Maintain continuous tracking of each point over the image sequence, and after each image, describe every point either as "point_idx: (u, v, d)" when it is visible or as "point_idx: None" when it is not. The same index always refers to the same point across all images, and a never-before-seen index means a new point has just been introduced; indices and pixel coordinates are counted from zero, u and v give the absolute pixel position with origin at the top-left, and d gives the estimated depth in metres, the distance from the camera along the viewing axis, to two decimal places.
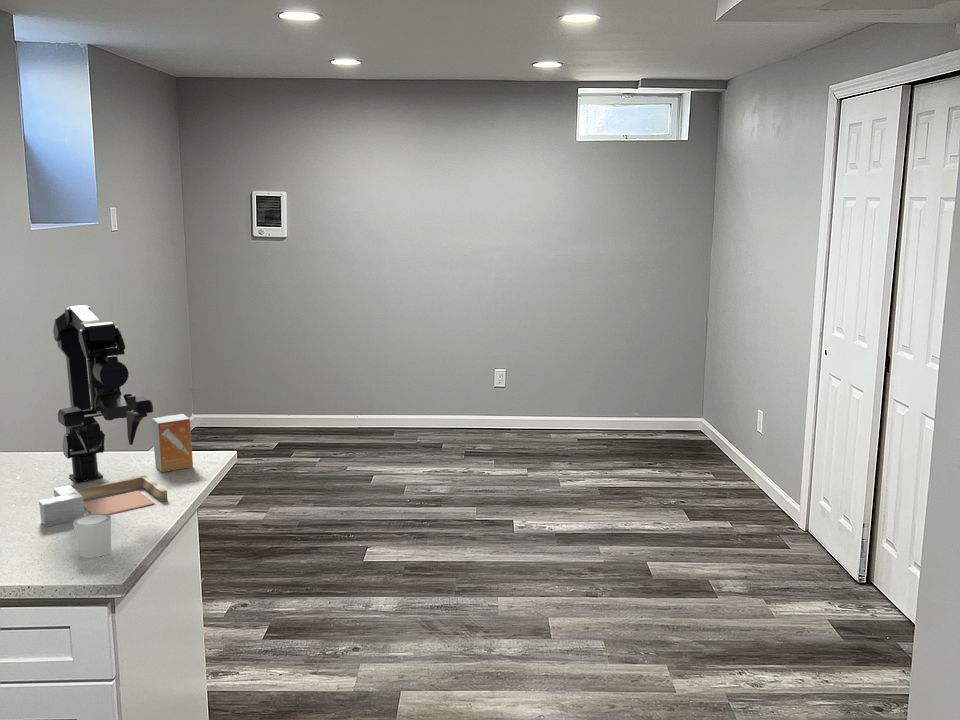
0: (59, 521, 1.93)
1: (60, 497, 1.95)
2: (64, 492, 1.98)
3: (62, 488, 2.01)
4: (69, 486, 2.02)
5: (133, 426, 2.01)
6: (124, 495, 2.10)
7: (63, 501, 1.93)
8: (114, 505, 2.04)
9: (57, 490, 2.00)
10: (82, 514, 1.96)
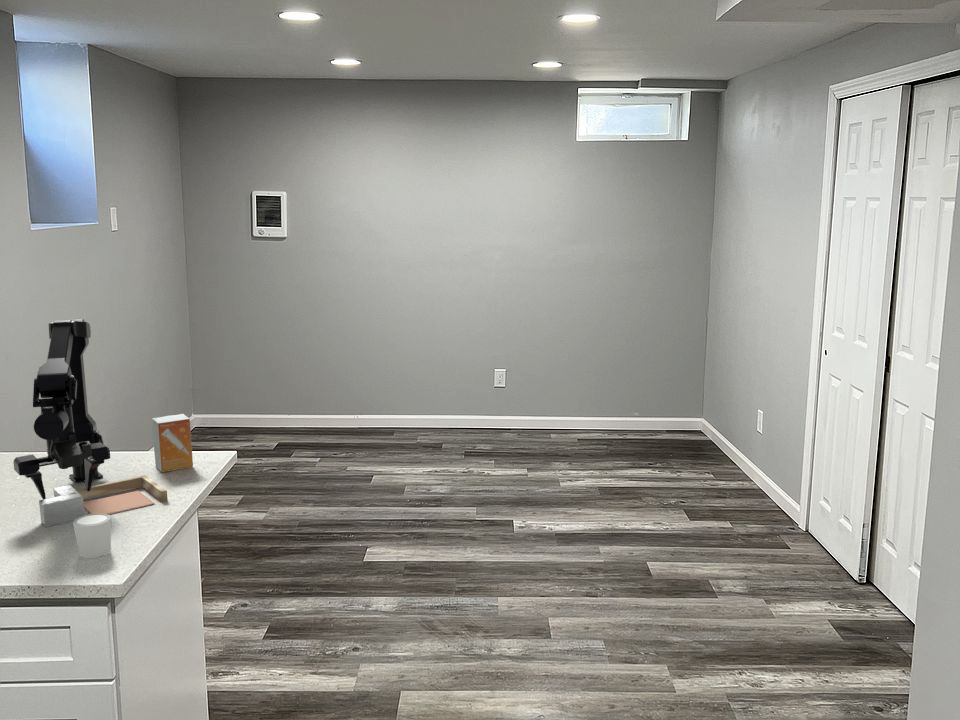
0: (59, 521, 1.93)
1: (60, 497, 1.95)
2: (64, 492, 1.98)
3: (62, 488, 2.01)
4: (69, 486, 2.02)
5: (90, 473, 2.01)
6: (124, 495, 2.10)
7: (63, 501, 1.93)
8: (114, 505, 2.04)
9: (57, 490, 2.00)
10: (82, 514, 1.96)
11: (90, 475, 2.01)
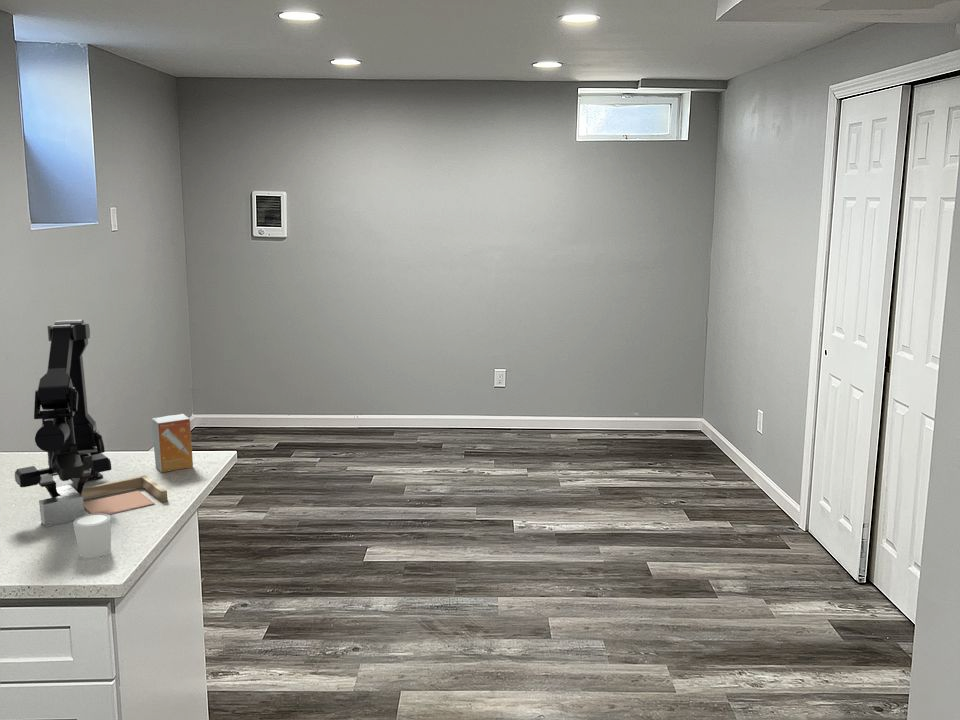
0: (59, 521, 1.93)
1: (60, 497, 1.95)
2: (64, 492, 1.98)
3: (62, 488, 2.01)
4: (69, 486, 2.02)
5: (78, 486, 2.00)
6: (124, 495, 2.10)
7: (63, 501, 1.93)
8: (114, 505, 2.04)
9: (57, 490, 2.00)
10: (82, 514, 1.96)
11: (78, 489, 2.00)
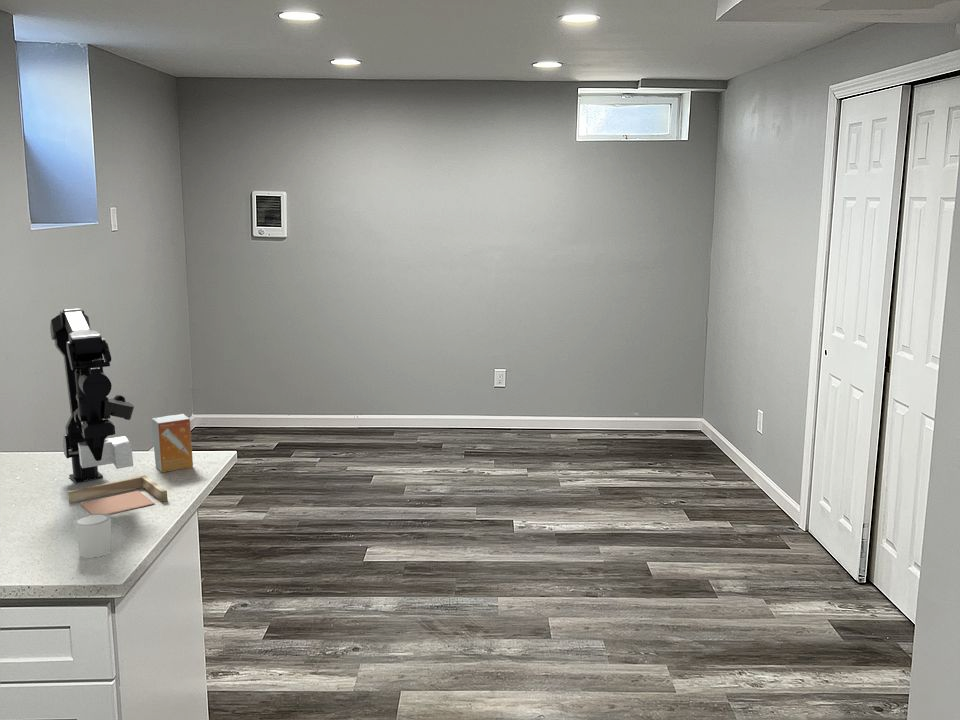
0: None
1: (115, 442, 2.02)
2: None
3: (86, 443, 2.01)
4: (83, 442, 2.02)
5: None
6: (124, 495, 2.10)
7: (128, 441, 2.03)
8: (114, 505, 2.04)
9: None
10: None
11: None
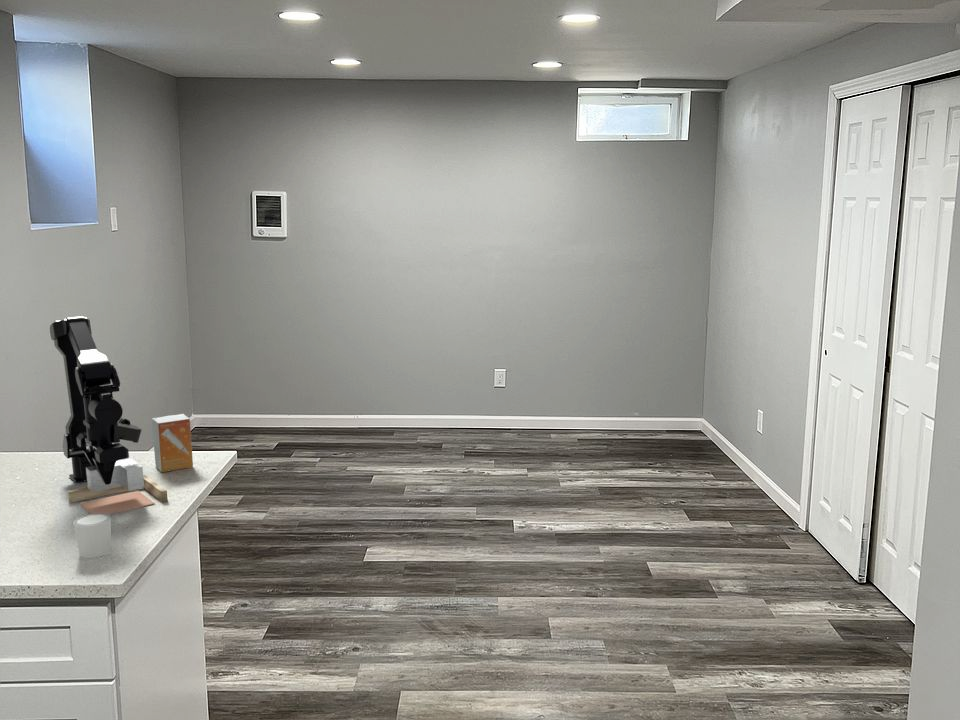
0: None
1: (124, 465, 2.05)
2: None
3: (95, 468, 2.03)
4: (91, 466, 2.04)
5: None
6: (124, 495, 2.10)
7: None
8: (114, 505, 2.04)
9: None
10: None
11: None
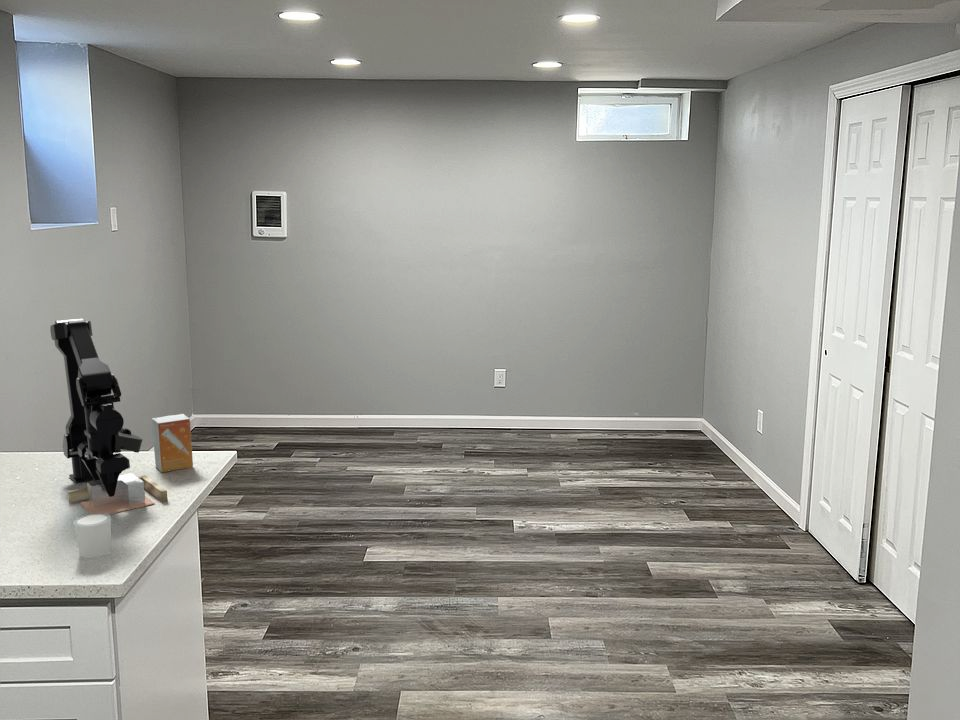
0: None
1: (125, 479, 2.05)
2: None
3: (96, 483, 2.03)
4: (92, 481, 2.04)
5: None
6: None
7: (137, 478, 2.07)
8: (114, 505, 2.04)
9: (101, 483, 2.03)
10: None
11: None
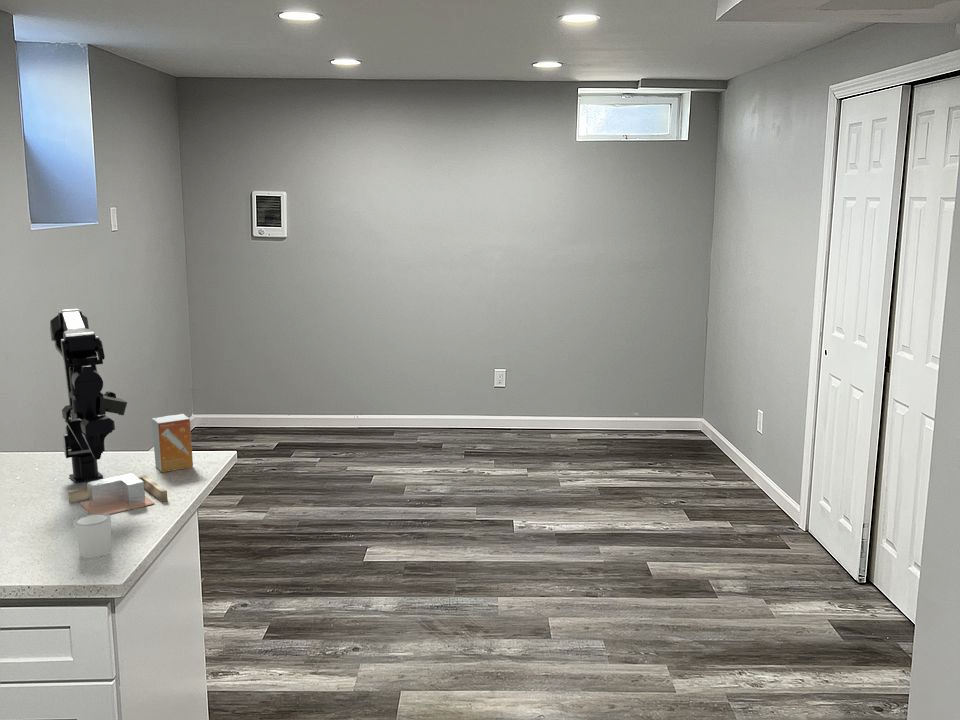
0: None
1: (125, 479, 2.05)
2: (112, 480, 2.05)
3: (96, 483, 2.03)
4: (92, 481, 2.04)
5: None
6: None
7: (137, 478, 2.07)
8: (114, 505, 2.04)
9: (101, 483, 2.03)
10: None
11: None
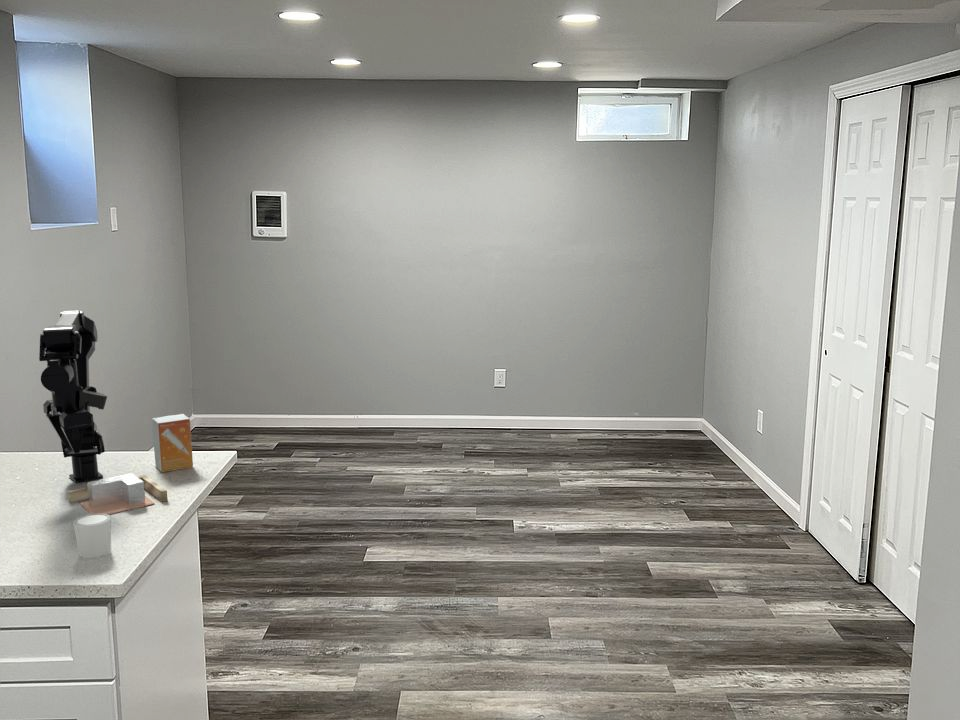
0: None
1: (125, 479, 2.05)
2: (112, 480, 2.05)
3: (96, 483, 2.03)
4: (92, 481, 2.04)
5: None
6: None
7: (137, 478, 2.07)
8: (114, 505, 2.04)
9: (101, 483, 2.03)
10: None
11: None
